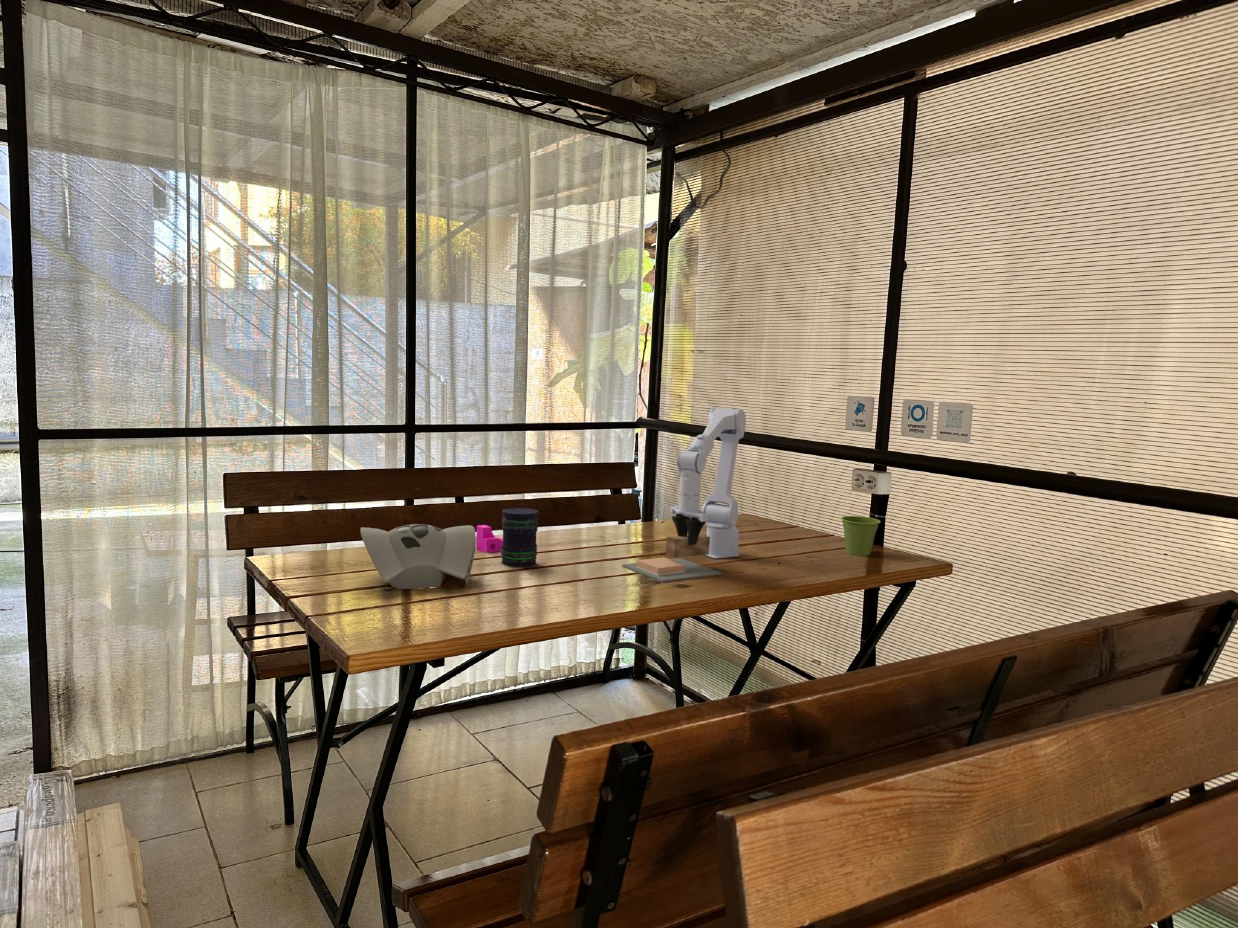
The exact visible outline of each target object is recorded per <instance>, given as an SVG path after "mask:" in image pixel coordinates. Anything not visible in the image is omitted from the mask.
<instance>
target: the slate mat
mask: <svg viewBox="0 0 1238 928" xmlns="http://www.w3.org/2000/svg"><path fill="white" fill-rule="evenodd" d="M669 559H670V560H673V561H676V562H678V563H681V564H684V565H685V572H684V573H675V574H667V575H659V576H658V575H655V574H653V573H650V572H648V571H645V570H643V569H640V568H637V562H634V563H633V562H631V563H623V564H622V568H625V569H628V570H630V571H633V572H635V573H637V574H640V575H643V576H644V577H646V578H647V577H648V578H650V579H652V580H655V581H658V582H660V583H669V582H676V581H685V580H692V579H693V580H694V579H698V578H708V577H715V575H717V576H722V575H723V573H722V572H720V571H718V570H715V569H714V568H713V569H712V568H709V567H706V566H704V565H701V564H699V563H695V562H692V561H691V560H690V561H689V560H686V559H684V558H682V557H677V558H669Z"/></svg>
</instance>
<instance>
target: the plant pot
mask: <svg viewBox="0 0 1238 928" xmlns="http://www.w3.org/2000/svg"><path fill="white" fill-rule="evenodd" d="M840 520H842V528H843V535H844V547H845V554H847V555H850V556H854V555H855V556H856V557H868V556H867V555H869V556H870V554H871V551H872V547H873V545H874V540H875V536H876V532H877V530H878V526H879V524H881V520H880V519H877V518H873V517H868V516H859V515H858V516H857V515H845V516H841V517H840Z"/></svg>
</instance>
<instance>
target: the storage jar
mask: <svg viewBox="0 0 1238 928" xmlns="http://www.w3.org/2000/svg"><path fill="white" fill-rule="evenodd" d="M538 514H539V510H538V509H535V508H529V507H508V508H504V509H502V519H501V520H502V521H501V524H502V526H501V531H502V538H503V544H502V550H501V551H500V555H501V565H503V566H507V567H513V568H523V569H526V568H529V569H530V568H532V567H536V566H537V556H538V545H537V532H538V529H539V528H538V527H539V526H538V525H539V516H538Z"/></svg>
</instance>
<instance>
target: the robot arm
mask: <svg viewBox="0 0 1238 928" xmlns="http://www.w3.org/2000/svg"><path fill="white" fill-rule="evenodd" d="M707 422H708V424H707V426H706V427H705V429H704V431H703V433H702V434H698V435H696V437H695V438H694V440H693V441H692V442H691V444H690V445H689V447H688V448H687V449H686V450H683V451H682V452H680V453H679V454H678V457H677V460H676V466H677V469H678V472H677V473H678V477H679V497H678V498H679V499H678V505H670V514H675V515H673V516H671V519H672V522H673V524H674V527H675V530H676V533H677V536H685V535H688V542H689V545H696V543H697V539H698V536H699V534H700V533H701V531H702V529H703V527H704V526H706V536H708V537H710V544H709V555H705V556H706V557H710V558H713V559H726V558H734V557H741V554H740V553H739V546H740V544H739V543H740V533H739V530H738V528H737V527H736V526H735V525H736V524H737V522H738V519H739V501H737V499H735V497H733V496H732V487H733V486H732V485H733V479H734V475H735V473H734V472H735V466H736V460H737V459H736V458H737V454H738V453H737V452H738V446H739V442H740V441H739V440H741V439H743V438H744V435H745V430H746V424H747V416H746V413H745V411H744V409H742V408H739V409H738V408H737V409H736V408H723V407H717V406H714V407H712V408H711V409H710V411H709V412H708V421H707ZM717 438H720V441H721V444H720V450H719V457H718V461H717V462H718V463H717V464H718V465H717V469H716V477H715V482H714V490H713V492H712V493H711V494H709V495H708V496H706V497H705V499H704V503H703V506H702V509H701V510H700V506H701V486H702V483H701V482H702V473H703V472H704V471H705V469H706V464H707V461H708V457H709V456H710V453H711V452H712V450H713V449H714V447H715V444H714V443H715V442H714V441H715V440H716V439H717Z"/></svg>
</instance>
